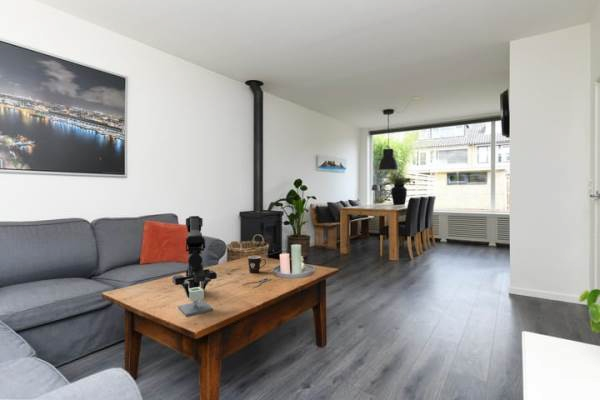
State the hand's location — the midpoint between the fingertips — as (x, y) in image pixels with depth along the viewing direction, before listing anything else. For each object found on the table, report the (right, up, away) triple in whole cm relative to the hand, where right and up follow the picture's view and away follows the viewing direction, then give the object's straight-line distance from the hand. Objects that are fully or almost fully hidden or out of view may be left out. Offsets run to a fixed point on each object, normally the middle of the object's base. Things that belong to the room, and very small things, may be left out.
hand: (195, 295), depth 145 cm
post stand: (0, -6, 0) cm, 6 cm away
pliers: (+22, -6, +42) cm, 48 cm away
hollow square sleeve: (0, -1, 0) cm, 1 cm away
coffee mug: (+19, -5, +66) cm, 69 cm away
